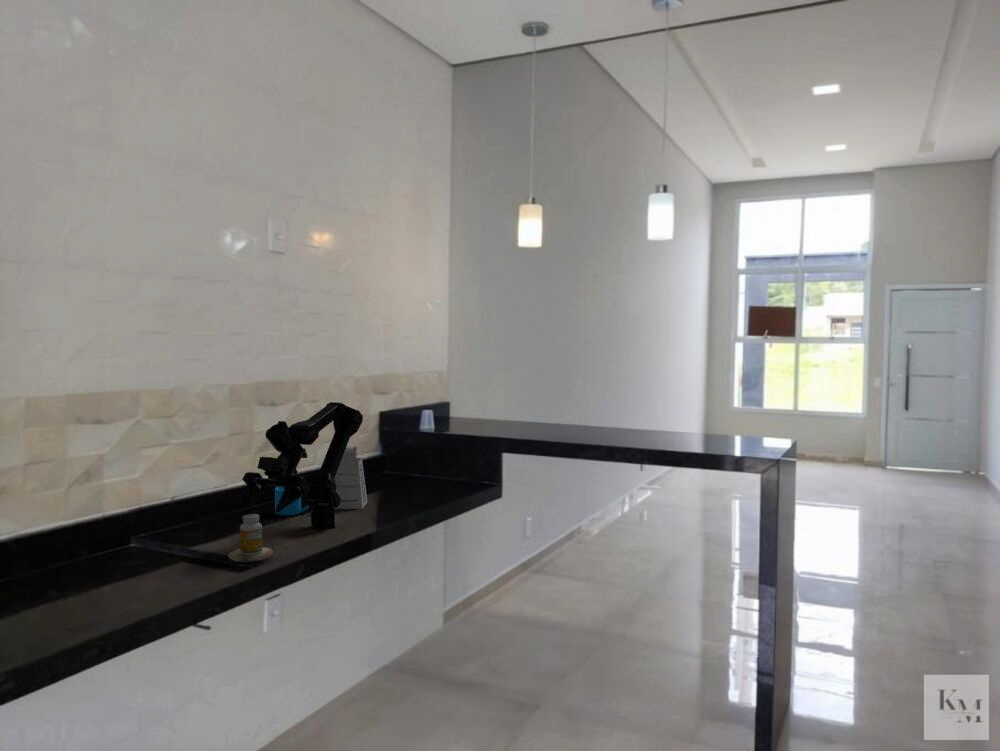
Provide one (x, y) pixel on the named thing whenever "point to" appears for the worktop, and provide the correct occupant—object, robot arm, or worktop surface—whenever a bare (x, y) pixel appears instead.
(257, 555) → the oak coaster
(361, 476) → the grater
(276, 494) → the mug
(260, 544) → the supplement bottle
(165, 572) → the worktop surface
